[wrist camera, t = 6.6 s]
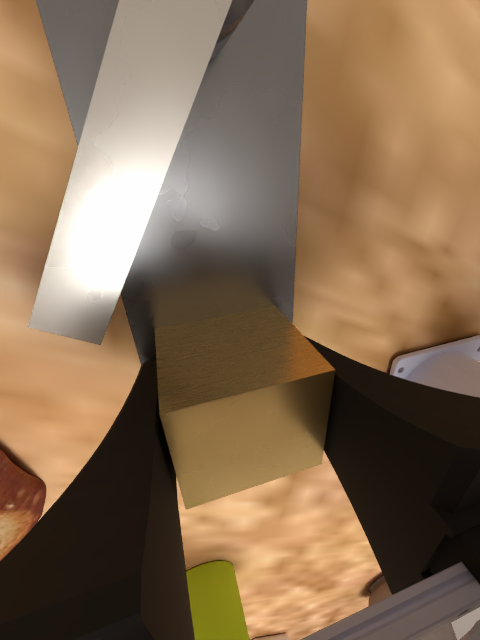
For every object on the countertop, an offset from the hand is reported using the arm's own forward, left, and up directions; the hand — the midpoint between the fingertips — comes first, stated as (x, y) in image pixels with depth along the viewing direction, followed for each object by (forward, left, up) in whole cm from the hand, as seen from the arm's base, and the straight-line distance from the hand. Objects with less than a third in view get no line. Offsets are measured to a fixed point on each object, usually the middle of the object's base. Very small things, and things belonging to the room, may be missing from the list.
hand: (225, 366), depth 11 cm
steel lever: (+7, +2, 0) cm, 7 cm away
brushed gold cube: (0, 0, 0) cm, 0 cm away
